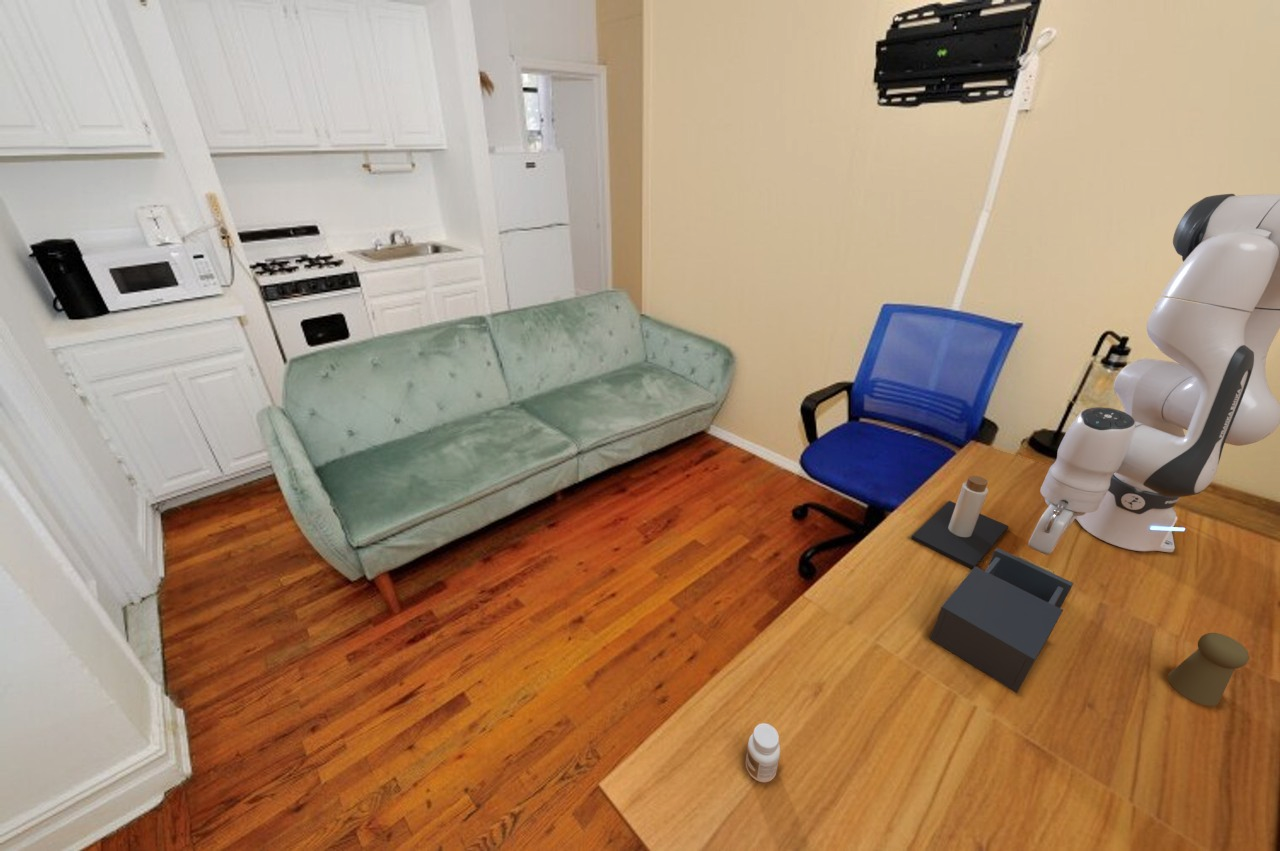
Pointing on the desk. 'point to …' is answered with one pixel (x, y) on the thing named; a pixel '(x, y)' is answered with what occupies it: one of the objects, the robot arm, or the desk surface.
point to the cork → (1208, 669)
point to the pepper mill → (968, 506)
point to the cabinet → (995, 627)
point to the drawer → (1029, 577)
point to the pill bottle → (763, 753)
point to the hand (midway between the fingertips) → (1044, 548)
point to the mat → (955, 546)
